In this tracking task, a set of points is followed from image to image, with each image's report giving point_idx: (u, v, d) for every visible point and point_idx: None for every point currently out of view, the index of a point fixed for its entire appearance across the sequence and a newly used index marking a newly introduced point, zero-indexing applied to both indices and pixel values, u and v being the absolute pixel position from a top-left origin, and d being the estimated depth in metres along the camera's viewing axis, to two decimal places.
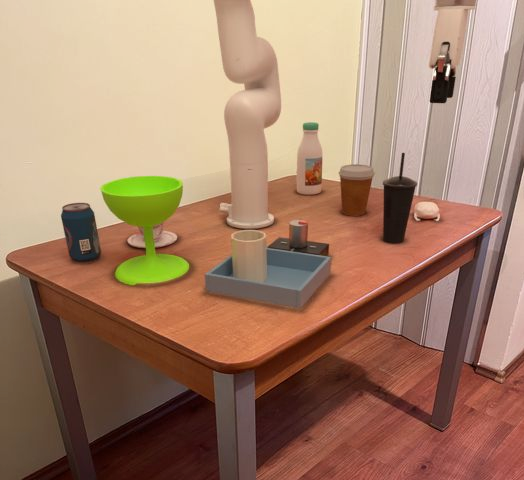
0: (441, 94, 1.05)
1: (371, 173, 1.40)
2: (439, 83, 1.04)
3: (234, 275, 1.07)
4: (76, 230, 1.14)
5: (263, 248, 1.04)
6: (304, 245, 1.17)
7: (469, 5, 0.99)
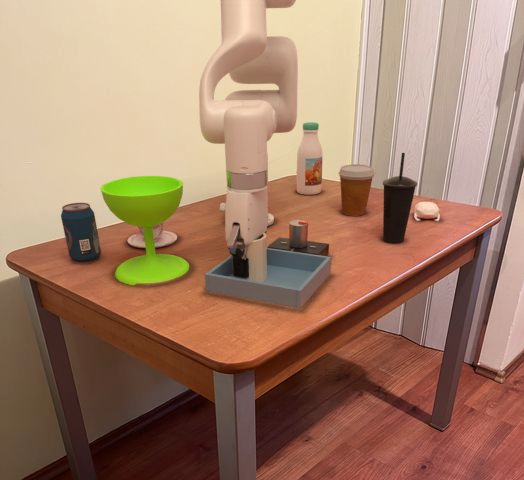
0: (241, 271, 1.04)
1: (371, 173, 1.40)
2: (238, 261, 1.03)
3: None
4: (76, 230, 1.14)
5: (263, 248, 1.04)
6: (304, 245, 1.17)
7: (256, 188, 0.97)
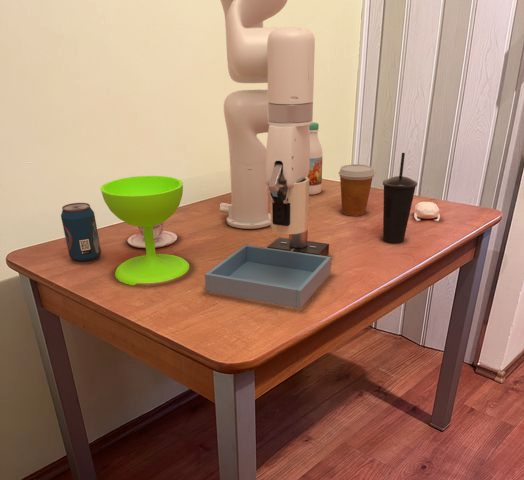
0: (282, 217, 0.95)
1: (371, 173, 1.40)
2: (278, 206, 0.94)
3: (273, 224, 0.98)
4: (76, 230, 1.14)
5: (306, 192, 0.95)
6: (304, 245, 1.17)
7: (302, 122, 0.88)
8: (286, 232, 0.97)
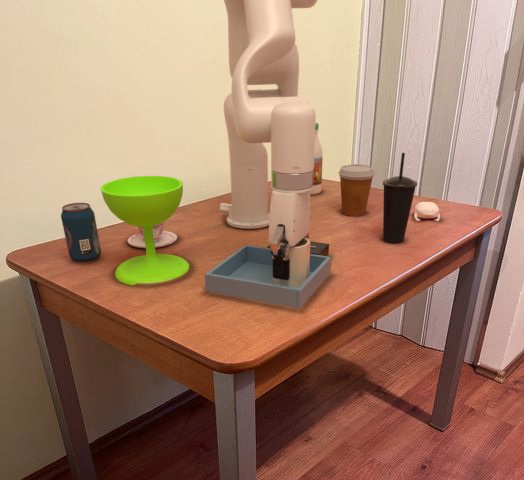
0: (282, 272, 0.99)
1: (371, 173, 1.40)
2: (278, 262, 0.98)
3: (276, 282, 1.04)
4: (76, 230, 1.14)
5: (307, 254, 1.01)
6: None
7: (303, 189, 0.93)
8: None
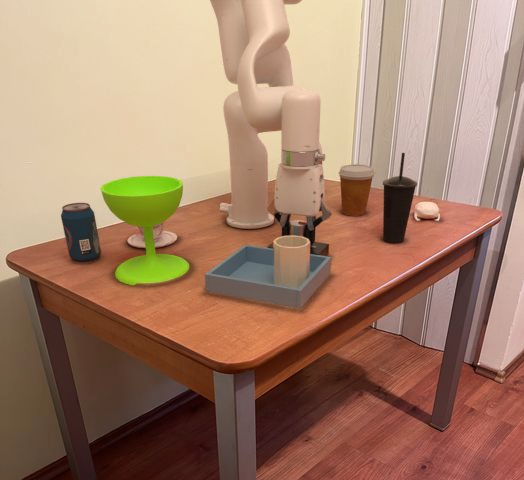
0: None
1: (371, 173, 1.40)
2: None
3: (276, 282, 1.04)
4: (76, 230, 1.14)
5: (307, 254, 1.01)
6: None
7: (284, 165, 1.08)
8: None
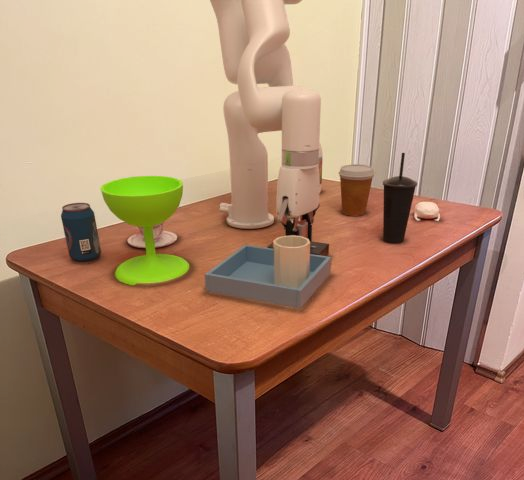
0: None
1: (371, 173, 1.40)
2: (289, 232, 1.14)
3: (276, 282, 1.04)
4: (76, 230, 1.14)
5: (307, 254, 1.01)
6: None
7: (306, 166, 1.06)
8: None
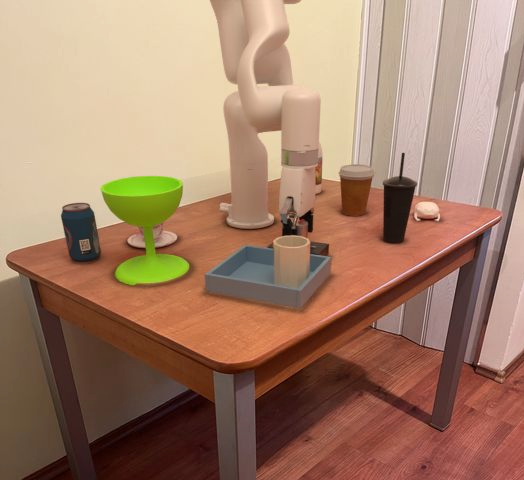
0: None
1: (371, 173, 1.40)
2: (287, 231, 1.12)
3: (276, 282, 1.04)
4: (76, 230, 1.14)
5: (307, 254, 1.01)
6: None
7: (309, 165, 1.07)
8: None
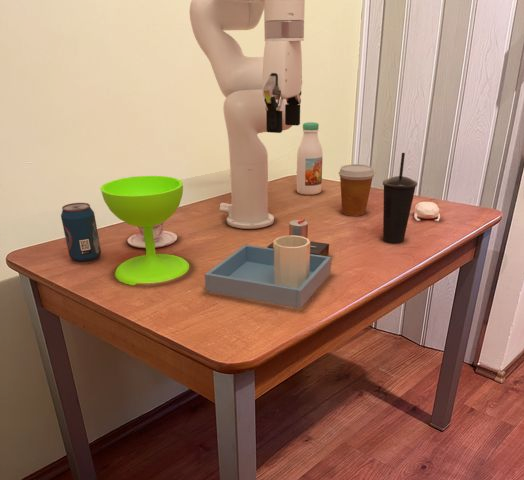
0: (275, 124, 1.05)
1: (371, 173, 1.40)
2: (272, 113, 1.05)
3: (276, 282, 1.04)
4: (76, 230, 1.14)
5: (307, 254, 1.01)
6: None
7: (294, 38, 1.00)
8: None
